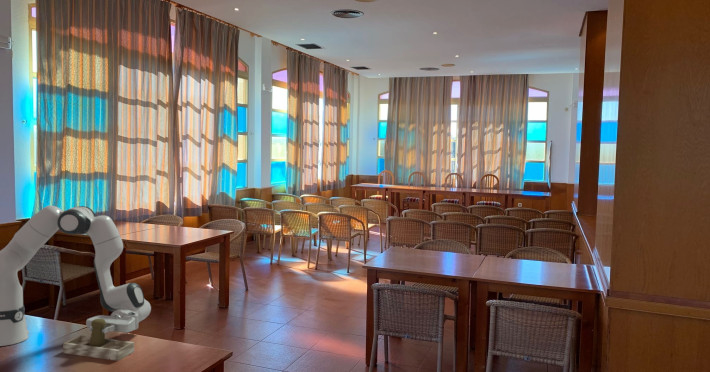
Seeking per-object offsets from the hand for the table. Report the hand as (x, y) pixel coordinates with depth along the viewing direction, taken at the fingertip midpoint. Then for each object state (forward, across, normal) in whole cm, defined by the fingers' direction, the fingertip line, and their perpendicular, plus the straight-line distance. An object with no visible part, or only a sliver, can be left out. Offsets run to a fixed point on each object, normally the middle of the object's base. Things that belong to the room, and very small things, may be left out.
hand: (97, 330), depth 203 cm
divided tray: (-1, 0, +9) cm, 9 cm away
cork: (-1, -1, +7) cm, 7 cm away
